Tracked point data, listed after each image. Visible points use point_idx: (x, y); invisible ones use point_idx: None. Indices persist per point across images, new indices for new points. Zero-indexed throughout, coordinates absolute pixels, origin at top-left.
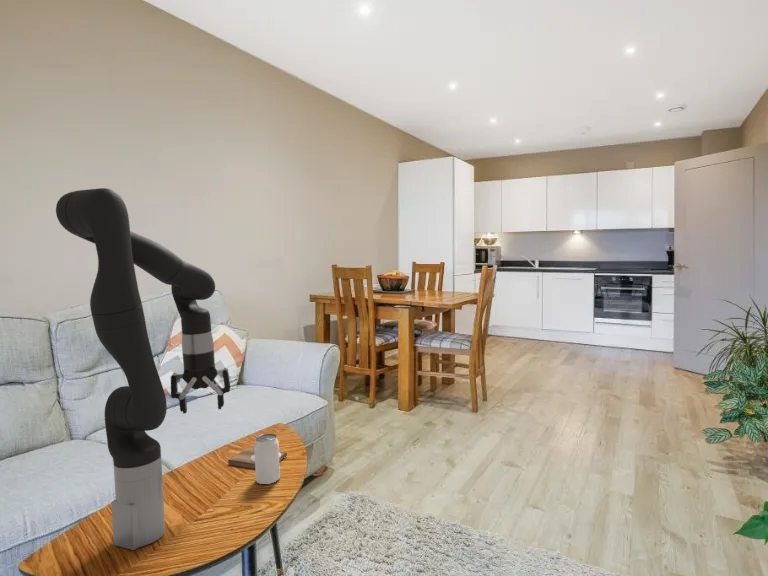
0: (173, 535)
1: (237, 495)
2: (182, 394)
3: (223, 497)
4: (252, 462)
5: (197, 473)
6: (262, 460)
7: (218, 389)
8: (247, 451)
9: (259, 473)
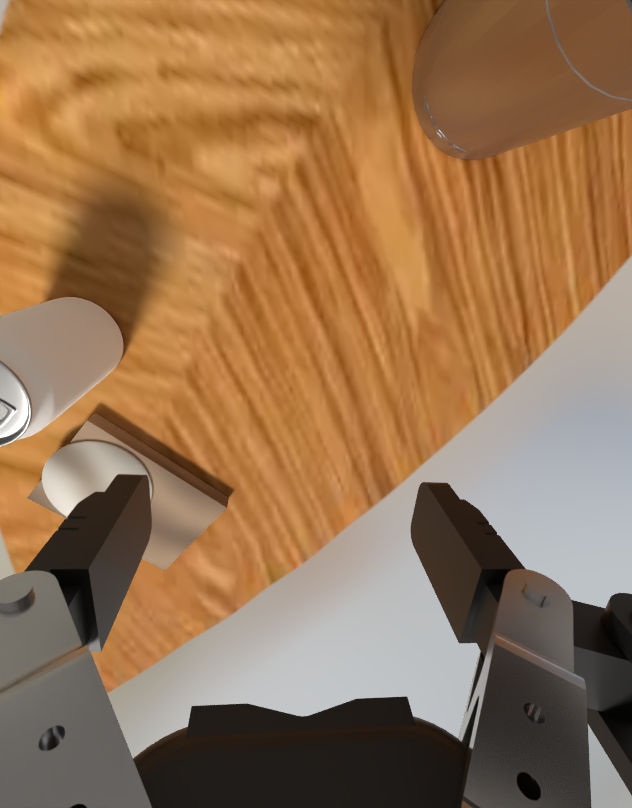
0: (385, 29)
1: (182, 260)
2: (548, 626)
3: (229, 265)
4: (143, 461)
5: (317, 470)
6: (42, 319)
7: (1, 658)
8: (168, 544)
9: (88, 318)
